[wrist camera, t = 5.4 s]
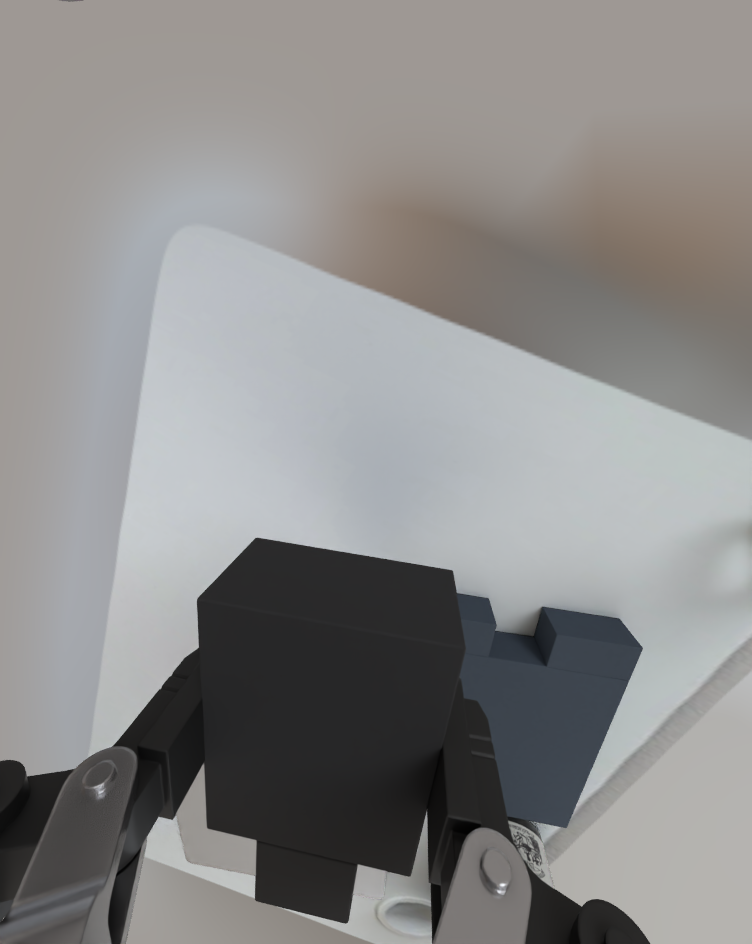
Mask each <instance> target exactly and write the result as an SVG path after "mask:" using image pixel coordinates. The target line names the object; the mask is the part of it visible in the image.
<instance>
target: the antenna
mask: <svg viewBox="0 0 752 944" xmlns="http://www.w3.org/2000/svg"><path fill="white" fill-rule="evenodd" d="M176 816H177V821H178V825H179V829H180V834H181V838H182V842H183V847H184V851H185V856H186V859H187V861H188V862H190V863H192V864H197V865H202V866H208V867H213V868H218V869H223V870H228V871H233V872H238V873H243V874H249V875H254V876H256V840H253V839H249V838H244V837H240V836H236V835H232V834H228V833H223V832H219V831H215V830H211V829H208V828H207V821H206V797H205V774H204V764H203V765H202V767H201V769H200V771H199V773H198V774H197V776H196V778H195V780H194V782H193V784H192V785H191V787H190V789H189V791H188V793H187V795H186V796H185V798H184V800H183V802H182V804H181V806H180V807H179V809H178V811H177V813H176ZM385 880H386V871H383V870H379V869H375V868H371V867H366V866H362V865H358V867H357V873H356V879H355V885H354V891H353V895H356V896H361V897H367V898H372V899H377V900H381V899H383V898H384V890H385Z"/></svg>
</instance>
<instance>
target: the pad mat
mask: <svg viewBox="0 0 752 944" xmlns="http://www.w3.org/2000/svg"><path fill="white" fill-rule="evenodd" d="M457 598H458V604H459V610H460V616H461V622H462V627H463V633H464V639H465V645H466V652H465V656H464V660H463V664H462V668H461V672H460V676H459V677H460V678H461V681H462V687H463V694H464V698H466V699H471V700H476V701H478V703H479V704H480V706H481V708H482V710H483V711H484V713H485V715H486V717H487V718H488V722H489V727H490V732H491V737H492V743H493V747H494V752H495V760H496V762H497V767H498V772H499V777H500V782H501V787H502V792H503V798H504V803H505V808H506V813H507V816H509V817H514V818H519V819H524V820H529V821H534V822H539V823H544V824H549V825H554V826H559V827H564V828H567V826H568V823H569V821H570V818H571V816H572V814H573V811H574V809H575V807H576V804H577V802H578V800H579V797H580V795H581V793H582V790H583V788H584V786H585V783H586V781H587V778H588V776H589V774H590V771H591V769H592V767H593V764H594V762H595V760H596V757H597V755H598V753H599V750H600V748H601V746H602V743H603V741H604V738H605V736H606V734H607V731H608V729H609V727H610V724H611V722H612V720H613V717H614V715H615V713H616V710H617V708H618V705H619V703H620V701H621V698H622V696H623V694H624V691H625V689H626V687H627V684H628V682H629V680H630V678H631V675H632V673H633V671H634V668H635V666H636V664H637V661H638V659H639V656H640V654H641V652H642V649H643V648H642V646H641V645H640V644H639V643H638V641H637V640H636V639H635V638H634V636H633V635H632V634H631V633H630V631H629V630H628V629H627V628H626V626H625V625H624V624H623V623H622V621H621V620H620V619H617V618H611V617H604V616H598V615H591V614H585V613H579V612H572V611H566V610H559V609H553V608H546V607H543V608H542V611H541V614H540V618H539V621H538V624H537V628H536V631H535V634H534V637H529V636H523V635H516V634H510V633H504V632H498V631H495V629H496V625H497V624H496V621H495V618H494V615H493V611H492V608H491V605H490V602H489V599H488V598H482V597H476V596H469V595H463V594H457Z"/></svg>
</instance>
